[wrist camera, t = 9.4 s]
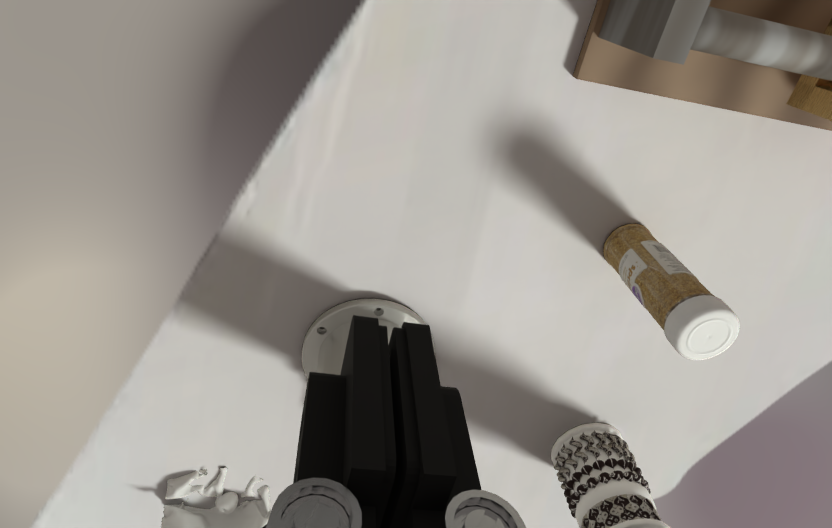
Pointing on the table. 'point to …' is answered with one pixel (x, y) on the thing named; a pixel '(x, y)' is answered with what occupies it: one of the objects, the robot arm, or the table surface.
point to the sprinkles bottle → (671, 294)
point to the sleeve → (814, 92)
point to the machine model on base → (712, 51)
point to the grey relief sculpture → (225, 520)
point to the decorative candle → (603, 479)
